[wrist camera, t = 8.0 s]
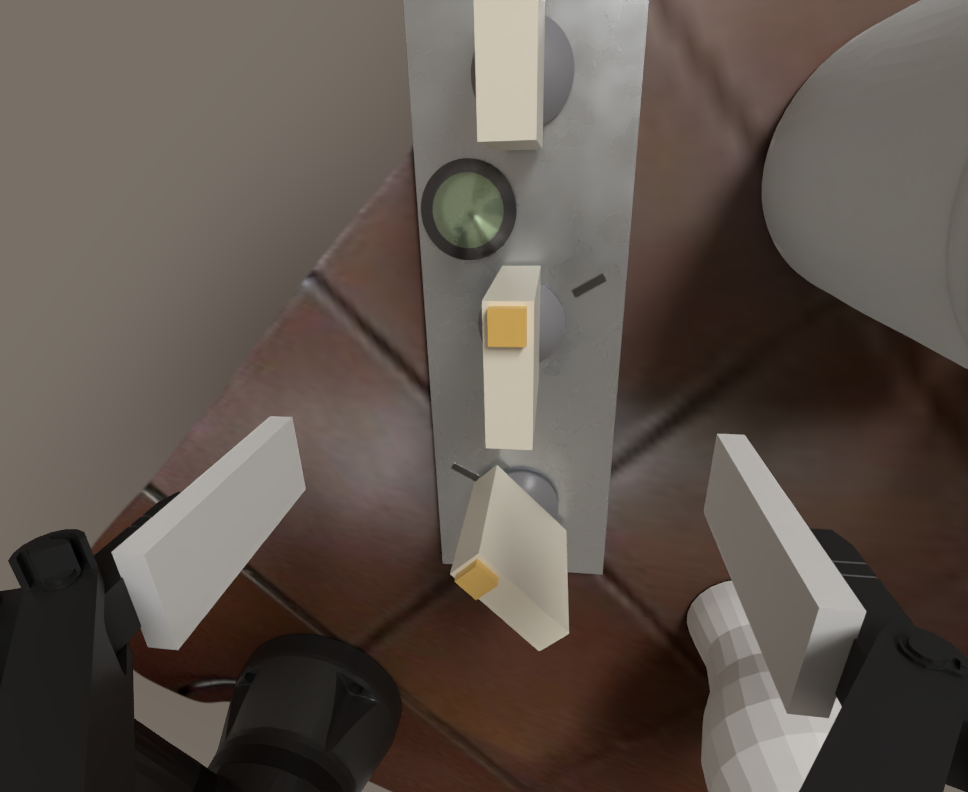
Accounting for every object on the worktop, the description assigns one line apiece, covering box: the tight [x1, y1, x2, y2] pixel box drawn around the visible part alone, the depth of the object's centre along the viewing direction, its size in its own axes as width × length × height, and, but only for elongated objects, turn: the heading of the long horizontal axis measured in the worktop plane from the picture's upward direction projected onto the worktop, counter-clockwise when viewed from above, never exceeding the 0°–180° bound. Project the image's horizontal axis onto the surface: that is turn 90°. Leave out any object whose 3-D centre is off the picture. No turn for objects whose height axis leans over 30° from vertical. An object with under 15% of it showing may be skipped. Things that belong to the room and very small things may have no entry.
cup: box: [687, 581, 842, 792], centre depth 33 cm, size 11×11×15 cm
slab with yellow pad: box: [450, 465, 569, 651], centre depth 32 cm, size 5×7×10 cm
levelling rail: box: [403, 0, 649, 574], centre depth 32 cm, size 12×38×1 cm, turn 1°
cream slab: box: [471, 0, 574, 151], centre depth 22 cm, size 5×7×10 cm
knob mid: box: [478, 266, 565, 450], centre depth 27 cm, size 5×7×10 cm
